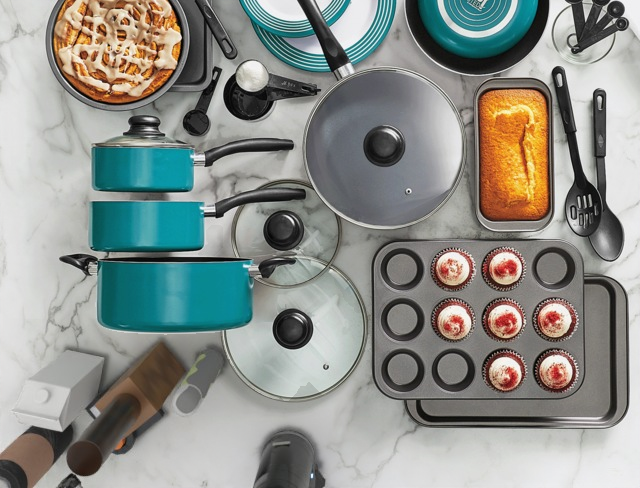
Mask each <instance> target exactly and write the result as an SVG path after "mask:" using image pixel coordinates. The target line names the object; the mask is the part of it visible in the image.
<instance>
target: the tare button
mask: <svg viewBox="0 0 640 488" xmlns="http://www.w3.org/2000/svg"><path fill="white" fill-rule="evenodd" d="M125 440H126V438H125V439H124V440H121V441H120V443H119V444H118V445H117V447H116V448H115V450H117V449H120V448H121V447H122V446H123V444H124V443H125Z"/></svg>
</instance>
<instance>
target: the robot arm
mask: <svg viewBox="0 0 640 488" xmlns="http://www.w3.org/2000/svg"><path fill="white" fill-rule="evenodd" d="M258 464H259V465H258V468H257V472H256V475H255V478H254V482H253V486H252V488H325V487H326V478H325V477H324V476H323V474H322V473H321V472H320V471H319V470H318V463H317V462H316V461H315V450H314V447H313V445H312V443H311V442H310V440H309V439H308V438H307V437H306V436H305V435H303V434H302V433H299V432H297V431H294V430H281V431H278V432H276V433H274V434H273V435H272V436H270V437H269V438H268V439H267V441H266V442H265V444H264V446H263V449H262V452H261V457H260V461H259V463H258ZM55 488H84V487H83V486H82V481H81V480H80V479H79V476H78V475H76V474H75V473H73V472H70V473H69V474H68V475H67V476H65V477H64V478H63V479H62V480H61V481H60V482H59V483H58V485H57V486H56V487H55Z"/></svg>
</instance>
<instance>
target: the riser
mask: <svg viewBox="0 0 640 488" xmlns="http://www.w3.org/2000/svg"><path fill="white" fill-rule="evenodd" d="M186 372H187V370H186V368H184V366H183V364H182V363H180V361H179V360H178V359H177V357H175V355H174V354H173V352H171V350H170V349H169V348H168V346H167V345H166V344H165V343H164V342H163V341H160V342H158V343H157V344H156V345H155V346H154V347H152V348H151V349H150V350H149V351H147V352H146V353H145V354H144V355H143V356H141V357H140V358H138V360H137V361H135V362H134V363H133V364H132V365H131V366H130V367H128V369H127V370H126V371H125V372H124V373H123V374H122V375H121V376H120V378H118V379H117V380H116V381H117V382H116V381H115V382H116V383H115V382H114V383H115V384H114V383H113V384H114V385H113V384H112V385H113V386H112V385H111V386H112V387H111V388H110V389H109V390H108V391H107V392H106V393H105V394H104V395H103V396H102V397H101V398H100V399H99V400H98V401H97V403H96V404H95V405H94V406H95V407H96V408H97V409H98V410H99V412H100V413H101V412H102V411H103V410H104V409H105V408H106V407H107V405H108V404H109V403H110V402H111V401H112V400H113V399H114V398H115V397H116V396H117V395H119V394H123V393H128V394H131V395H133V396H135V397H136V398H137V399H138V400H139V402H140V405H141V413H140V416H139V417H138V419H137V420H136V421H135V423H134V424H133V425H132V427H131V428H130V429H129V431H128V432H127V433H126V435H125V436H124V437H123V439H122V440H124V439H125V438H126V437H127V436H129V435H130V434H131V433H132V432H133V431H135V430H136V429H137V428H138V427H140V426H141V425H142V424H143V423H144V422H146V421H147V420H148V419H149V418H151V417H152V416H153V415H154V414H156V413H157V412H158V410H159V409H160V408H161V407H162V406H163V405H164V403H165V402H166V401H167V399H168V398H169V396H170V395H171V393H172V392H173V390H174V389H175V388H176V386H177V385H178V384H179V383H180V381H181V379H182V378H183V377H184V375H185V374H186ZM161 409H162V408H161Z"/></svg>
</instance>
